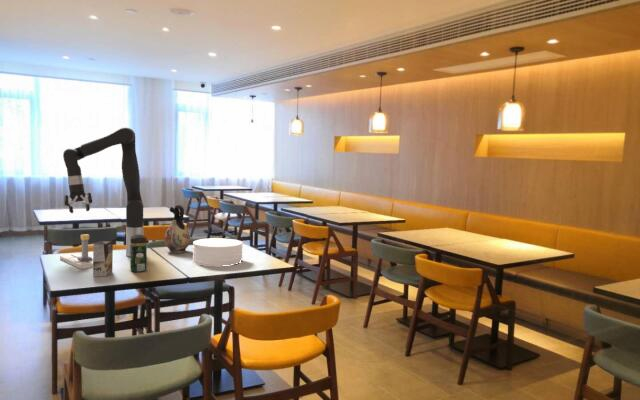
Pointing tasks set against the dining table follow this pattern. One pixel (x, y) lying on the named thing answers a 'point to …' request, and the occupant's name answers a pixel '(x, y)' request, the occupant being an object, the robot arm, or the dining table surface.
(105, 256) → the coffee box
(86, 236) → the yellow capped tube
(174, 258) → the dining table surface
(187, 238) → the ceramic jug
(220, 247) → the plate stack
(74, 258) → the beige flat slab
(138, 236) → the coffee jar
